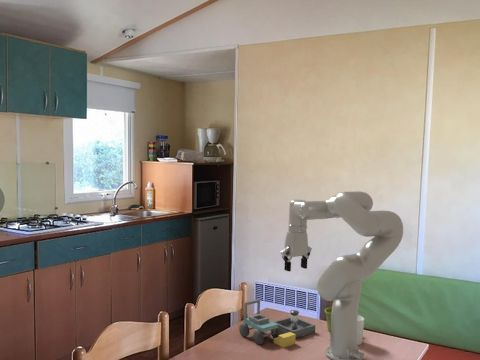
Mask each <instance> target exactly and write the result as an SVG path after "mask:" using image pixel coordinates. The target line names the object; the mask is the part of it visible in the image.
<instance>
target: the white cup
mask: <svg viewBox="0 0 480 360" xmlns="http://www.w3.org/2000/svg"><path fill="white" fill-rule="evenodd" d="M364 327H365V317H363V316H362V315H359V314H358V319H357V339H356V346H359V345H361V344H362V342H363V335H364Z"/></svg>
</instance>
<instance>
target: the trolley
mask: <svg viewBox="0 0 480 360" xmlns="http://www.w3.org/2000/svg"><path fill="white" fill-rule="evenodd" d="M253 304H256V305H257V306H256V314H253V315H249V316H247V315H248V305H253ZM243 305H244V307H243V309H244V310H243V319H242V320H243V321H242V322H243V323H242V324H240V325H239V328H238V330H239V334H240V336H242V337H243V338H245V337H248V336H249V334H250V330H251V331H252V330H256V331H254V332H253V335H252V336H253V340H254V343H255V344H257V345H259V346H260V345H262V344H263V343H264V341H265V337H266V338H267V337H270V336H271V338H273V339H274V338H277V337H278V335H282V333H281V330H280V328H279V327H278V324H276V323H274V322H273V321H272V320H270V318H269V317H267V316H265V315H262V314H260V313H261V312H260V311H261V299H253V300H249V301H245V302H244V304H243ZM268 331H269V332H270V333H267V334H263V333H265V332H268Z"/></svg>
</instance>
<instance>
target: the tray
mask: <svg viewBox="0 0 480 360" xmlns="http://www.w3.org/2000/svg"><path fill="white" fill-rule="evenodd" d="M272 322H274V323H276V324H278V327H279V328H280V330H281V335H282V334H285V333H288V332H292V333H294V334H296V339H298V338H301V337H305V336H307V335H311V334H314V333H315V332H316V325H315V324H313V323H311V322H309V321H305V320H303V319H301V318H299V317H298V325H297V330H292V329H290V323H291V316H290V317H286V318H282V319H278V320H273V321H272Z"/></svg>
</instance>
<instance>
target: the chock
mask: <svg viewBox="0 0 480 360" xmlns="http://www.w3.org/2000/svg"><path fill="white" fill-rule="evenodd" d="M296 339H297V338H296V334H294V333H292V332H288V333H285V334H282V333H281V335H278V337H277V338H273V344H276V346H277V345H278V346H279V347H281V348H286V347H290V346H293V345H295V344H296Z"/></svg>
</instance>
